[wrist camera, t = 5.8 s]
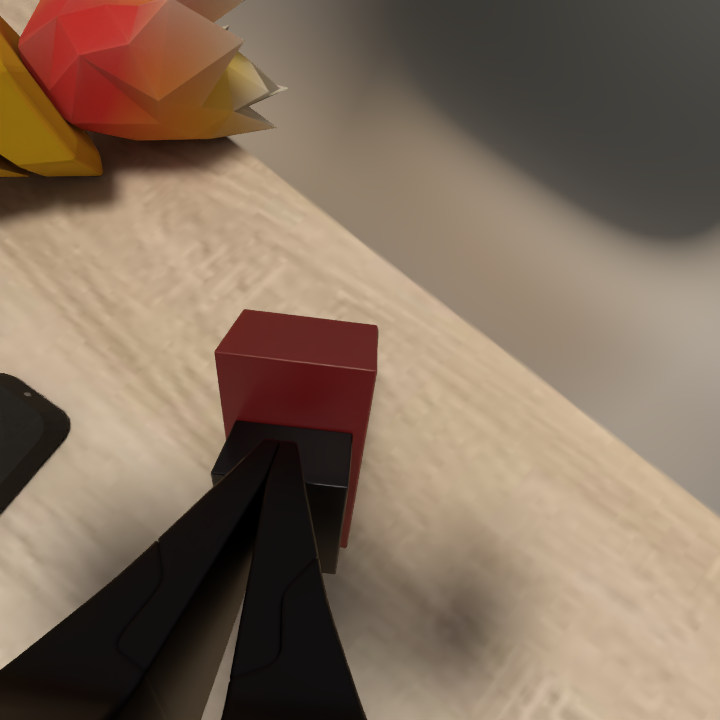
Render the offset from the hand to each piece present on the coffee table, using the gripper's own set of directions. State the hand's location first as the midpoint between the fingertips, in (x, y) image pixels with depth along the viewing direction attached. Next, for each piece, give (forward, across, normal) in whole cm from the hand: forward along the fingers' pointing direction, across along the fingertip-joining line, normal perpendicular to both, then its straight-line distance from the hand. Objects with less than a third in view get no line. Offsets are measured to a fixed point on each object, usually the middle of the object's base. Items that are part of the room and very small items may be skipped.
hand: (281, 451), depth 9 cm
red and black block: (+3, 0, +7) cm, 8 cm away
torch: (+9, +25, -2) cm, 27 cm away
